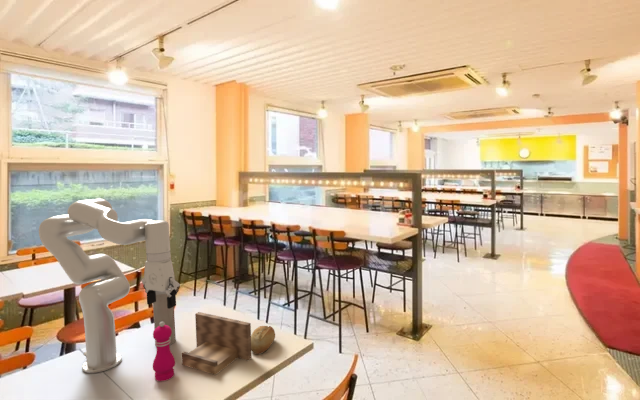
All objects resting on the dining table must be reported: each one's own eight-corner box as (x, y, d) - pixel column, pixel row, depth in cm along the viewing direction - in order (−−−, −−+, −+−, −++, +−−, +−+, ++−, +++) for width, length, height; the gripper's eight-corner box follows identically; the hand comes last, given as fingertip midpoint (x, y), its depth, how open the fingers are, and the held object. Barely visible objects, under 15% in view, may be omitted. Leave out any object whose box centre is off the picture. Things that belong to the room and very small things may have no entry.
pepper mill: (167, 383, 121) (164, 327, 119) (148, 381, 122) (145, 325, 120) (179, 371, 128) (177, 318, 126) (162, 369, 129) (159, 316, 127)
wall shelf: (172, 361, 134) (170, 326, 133) (200, 344, 147) (198, 311, 146) (226, 378, 123) (225, 339, 122) (251, 358, 136) (250, 323, 135)
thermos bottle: (175, 336, 155) (172, 273, 152) (175, 344, 147) (172, 279, 145) (155, 339, 152) (152, 276, 149) (154, 348, 144) (150, 281, 142)
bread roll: (279, 338, 152) (278, 320, 151) (269, 356, 137) (269, 337, 136) (257, 337, 153) (257, 319, 153) (245, 355, 139) (245, 335, 138)
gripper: (131, 257, 121) (134, 305, 123) (168, 261, 114) (171, 313, 115) (150, 252, 128) (153, 298, 129) (185, 256, 121) (188, 304, 122)
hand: (161, 305), depth 122 cm, fingers open, 9 cm apart
